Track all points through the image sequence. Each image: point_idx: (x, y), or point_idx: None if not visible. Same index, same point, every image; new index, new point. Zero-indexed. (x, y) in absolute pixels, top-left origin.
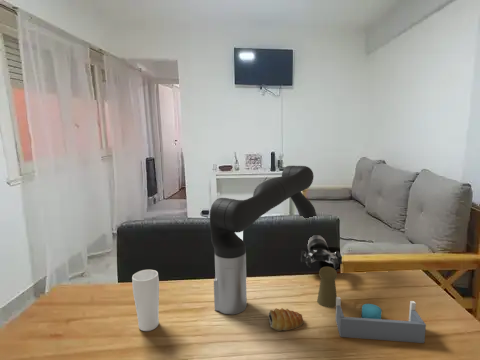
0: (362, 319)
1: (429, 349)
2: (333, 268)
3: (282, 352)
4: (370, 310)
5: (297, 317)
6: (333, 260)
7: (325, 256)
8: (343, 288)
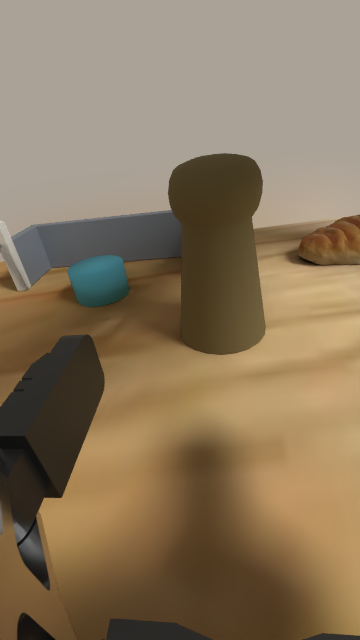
0: (155, 212)
1: None
2: (181, 166)
3: (320, 222)
4: (104, 261)
5: (314, 232)
6: (45, 432)
7: (113, 633)
8: (98, 434)
